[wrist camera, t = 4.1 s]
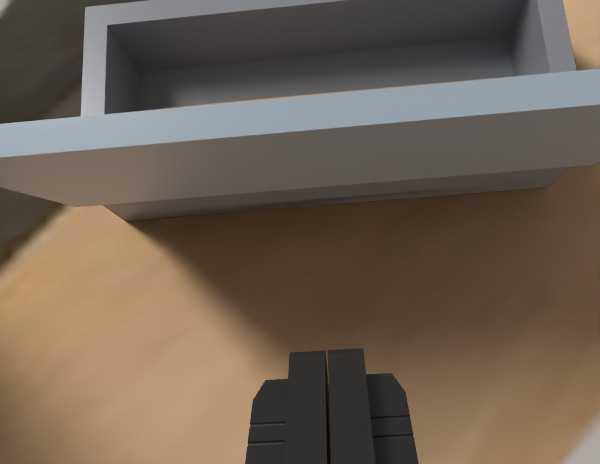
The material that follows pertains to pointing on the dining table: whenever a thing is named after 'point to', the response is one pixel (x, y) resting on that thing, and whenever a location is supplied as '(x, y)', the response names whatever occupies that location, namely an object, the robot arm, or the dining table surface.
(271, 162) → the duct lid
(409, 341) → the dining table surface
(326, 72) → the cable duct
